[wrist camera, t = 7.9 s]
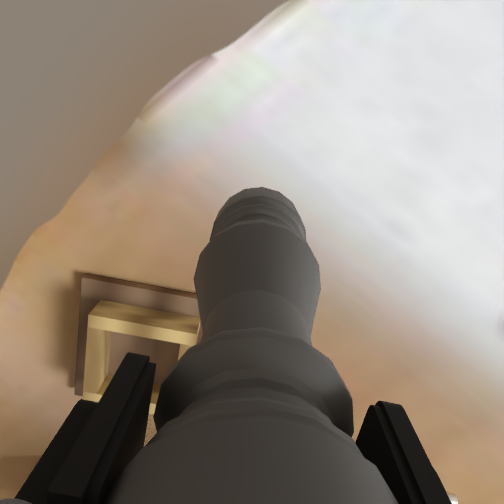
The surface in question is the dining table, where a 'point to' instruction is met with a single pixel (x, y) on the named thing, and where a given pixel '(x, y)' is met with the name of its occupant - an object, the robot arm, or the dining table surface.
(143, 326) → the socket base
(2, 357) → the dining table surface
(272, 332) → the candle holder
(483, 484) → the dining table surface
